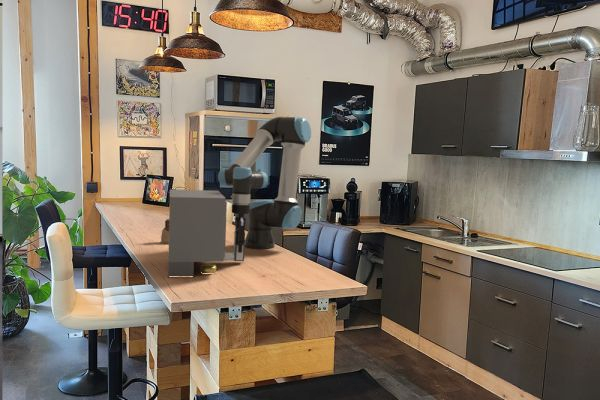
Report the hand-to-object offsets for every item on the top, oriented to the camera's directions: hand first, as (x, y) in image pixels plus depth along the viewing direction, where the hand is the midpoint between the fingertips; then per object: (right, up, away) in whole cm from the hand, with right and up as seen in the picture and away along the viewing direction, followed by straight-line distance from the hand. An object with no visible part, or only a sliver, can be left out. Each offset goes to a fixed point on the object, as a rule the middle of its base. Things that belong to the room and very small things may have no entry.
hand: (238, 258), depth 208 cm
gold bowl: (-10, -4, -18) cm, 20 cm away
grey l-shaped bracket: (-8, 0, -2) cm, 8 cm away
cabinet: (-16, -2, -11) cm, 20 cm away
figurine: (-39, +3, +34) cm, 52 cm away
